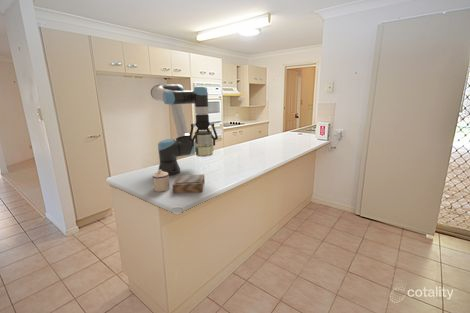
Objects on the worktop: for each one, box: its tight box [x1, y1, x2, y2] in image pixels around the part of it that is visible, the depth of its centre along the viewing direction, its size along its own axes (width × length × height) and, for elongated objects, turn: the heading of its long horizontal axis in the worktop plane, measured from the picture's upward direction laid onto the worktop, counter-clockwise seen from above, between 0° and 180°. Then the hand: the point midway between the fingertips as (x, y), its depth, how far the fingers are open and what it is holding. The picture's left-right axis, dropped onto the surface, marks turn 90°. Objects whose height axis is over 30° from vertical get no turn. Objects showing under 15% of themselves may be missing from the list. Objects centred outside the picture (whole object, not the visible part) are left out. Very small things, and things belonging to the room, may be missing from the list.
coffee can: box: [193, 130, 214, 158], centre depth 138 cm, size 10×10×14 cm
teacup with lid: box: [151, 170, 171, 193], centre depth 134 cm, size 12×9×12 cm
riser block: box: [172, 173, 205, 194], centre depth 135 cm, size 16×16×5 cm
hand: (204, 151), depth 140 cm, fingers closed on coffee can, 10 cm apart
